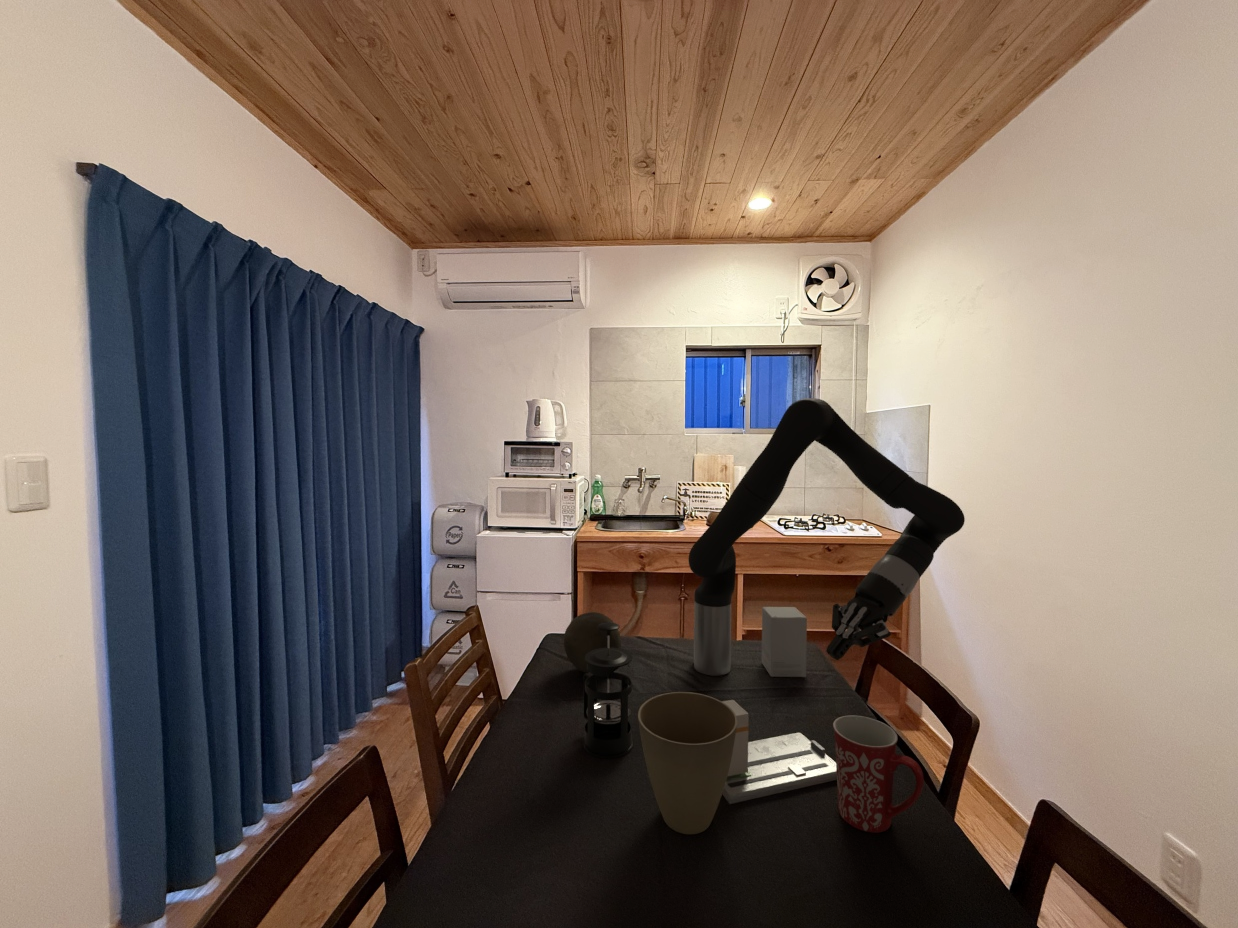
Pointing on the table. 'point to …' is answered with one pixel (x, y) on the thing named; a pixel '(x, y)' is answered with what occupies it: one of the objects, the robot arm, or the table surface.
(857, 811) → the mug
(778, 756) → the console
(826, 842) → the table surface
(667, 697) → the plant pot
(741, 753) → the fader knob
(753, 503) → the robot arm
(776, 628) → the supplement box
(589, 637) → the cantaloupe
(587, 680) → the french press
